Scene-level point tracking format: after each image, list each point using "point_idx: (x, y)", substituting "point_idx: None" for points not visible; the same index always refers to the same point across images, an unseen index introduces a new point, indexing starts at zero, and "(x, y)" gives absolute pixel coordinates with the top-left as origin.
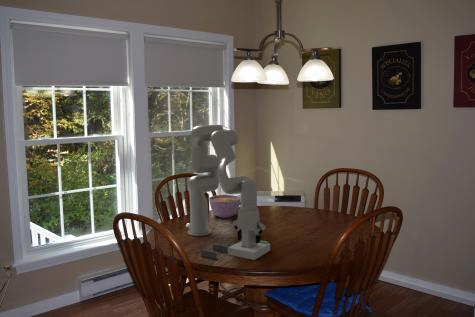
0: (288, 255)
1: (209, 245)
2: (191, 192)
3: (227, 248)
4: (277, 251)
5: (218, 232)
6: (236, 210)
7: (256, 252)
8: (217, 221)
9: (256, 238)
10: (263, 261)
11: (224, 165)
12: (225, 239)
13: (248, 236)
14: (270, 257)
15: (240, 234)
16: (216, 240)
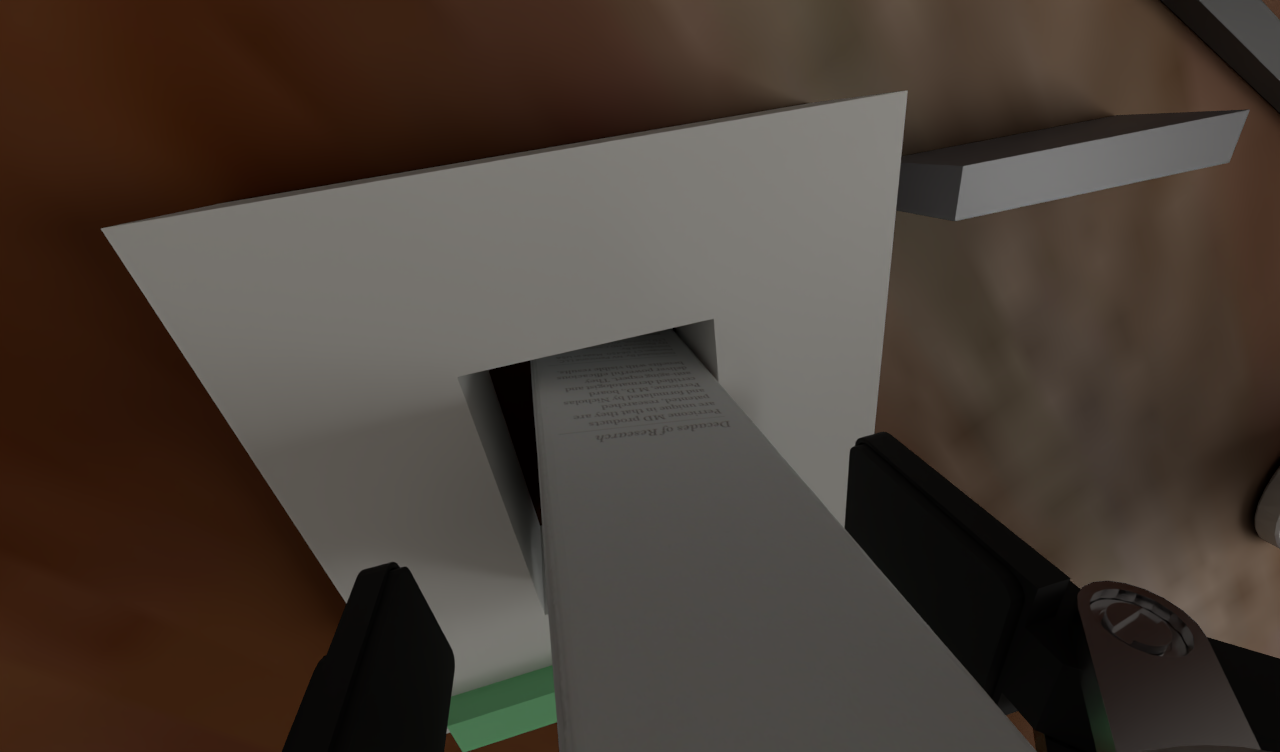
0: (99, 698)
1: (1201, 248)
2: None
3: (926, 195)
4: None
5: (1185, 570)
6: None
7: (200, 337)
8: None
9: (321, 700)
10: (15, 270)
11: None
12: (1077, 508)
13: (549, 607)
14: (177, 493)
15: (934, 573)
16: (1157, 428)
